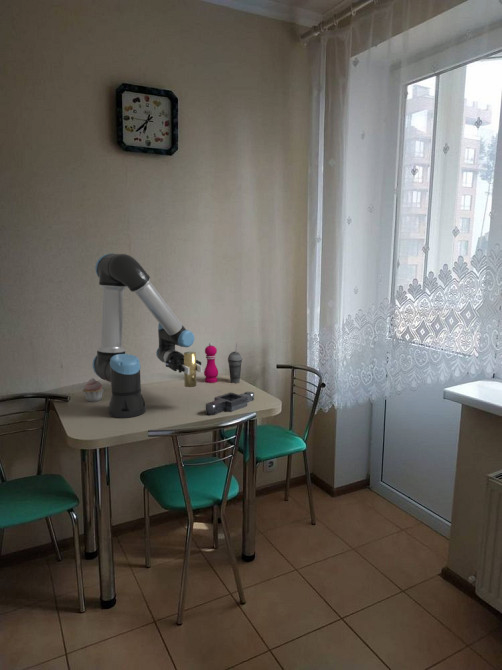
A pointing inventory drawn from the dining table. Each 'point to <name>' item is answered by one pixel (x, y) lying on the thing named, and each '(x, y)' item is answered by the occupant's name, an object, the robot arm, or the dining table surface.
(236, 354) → the beverage cup
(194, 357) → the gold tall cylinder
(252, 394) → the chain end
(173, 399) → the dining table surface
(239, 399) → the chain end
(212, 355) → the pepper mill
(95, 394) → the cupcake
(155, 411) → the dining table surface
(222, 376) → the dining table surface
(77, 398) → the dining table surface
